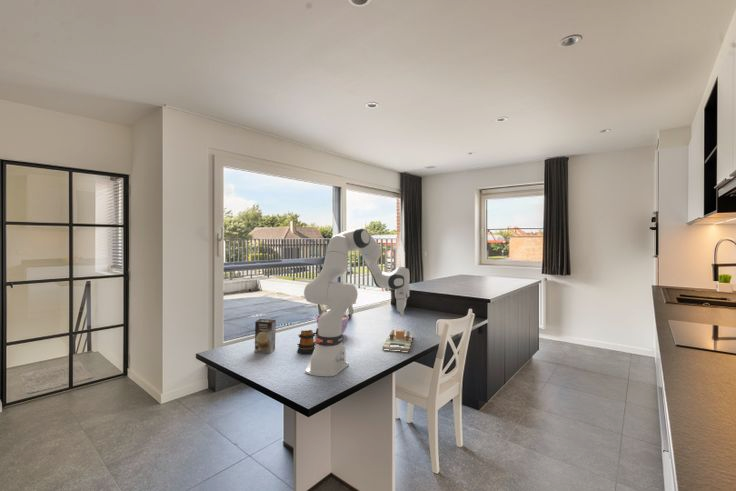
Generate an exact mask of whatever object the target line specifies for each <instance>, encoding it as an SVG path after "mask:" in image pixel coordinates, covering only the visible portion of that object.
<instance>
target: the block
mask: <svg viewBox="0 0 736 491" xmlns="http://www.w3.org/2000/svg"><path fill="white" fill-rule="evenodd" d="M395 330H396V331H395V333H396V338H402V339H404V334H405V329H402V328H401V329H400V328H399V329H398V328H397V329H395Z"/></svg>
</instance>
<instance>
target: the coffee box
mask: <svg viewBox="0 0 736 491" xmlns="http://www.w3.org/2000/svg"><path fill="white" fill-rule="evenodd" d="M254 324H255V325H254V326H255V327H254V353H258V354H259V353H262V354H272V353H273V352H274V351H275V350H276V334H277V333H276V331H277V330H276V328H277V327H276V326H277V325H276V324H277V320H276V319H271V318H270V319H268V318H259V319H258V320H256V321H255V323H254Z"/></svg>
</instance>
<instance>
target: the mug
mask: <svg viewBox="0 0 736 491" xmlns="http://www.w3.org/2000/svg"><path fill="white" fill-rule="evenodd" d="M317 335H318V327H317V328H316V330H315V332H314V331H313V330H312V329H308V330H302V329H301V331H300V334H297V336H298V338H299V339H300V340H299V343H297V344H296V345H297V350H296V353H297V354H299V355H305V356H306V355H307V356H308V355H312V354H313V351H314V348H315V346H316V344H317V343H316V342H315V341H314V340H315V339H316V338H317ZM314 337H315V339H314Z"/></svg>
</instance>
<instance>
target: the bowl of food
mask: <svg viewBox="0 0 736 491" xmlns="http://www.w3.org/2000/svg"><path fill="white" fill-rule="evenodd" d="M322 314H323V313H320V314H318V315H316V316H315V318H316V323H317V325H318V322H319V317H320V316H321V315H322ZM349 318H350V316H349V315H347V314H346V313H344V316H343V320H342V335H343V334H344V333H345V331H346V329H347V326H348V323H349Z"/></svg>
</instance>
